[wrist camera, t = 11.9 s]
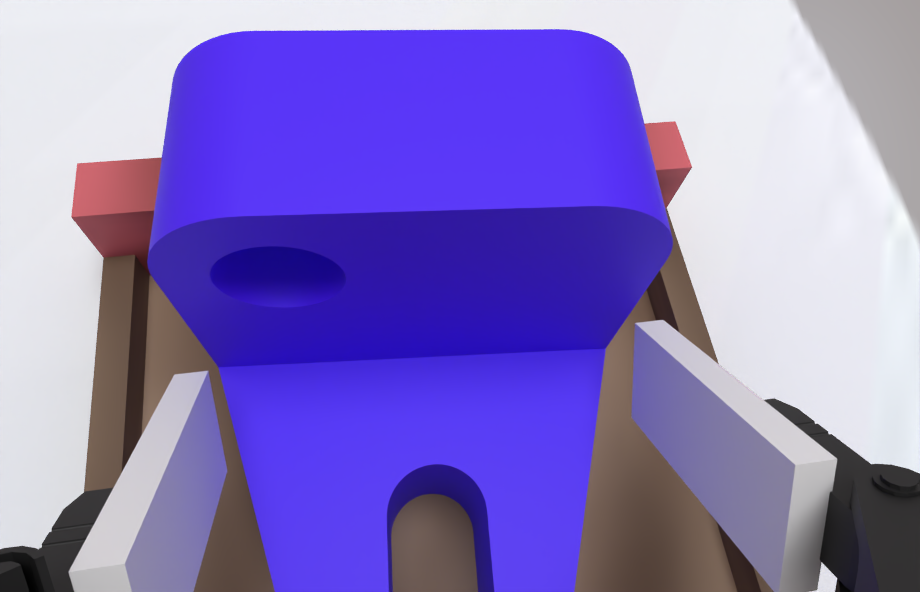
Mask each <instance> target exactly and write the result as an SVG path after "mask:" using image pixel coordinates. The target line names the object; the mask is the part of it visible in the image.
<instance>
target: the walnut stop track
mask: <svg viewBox="0 0 920 592" xmlns="http://www.w3.org/2000/svg"><path fill="white" fill-rule="evenodd" d="M644 125H645V129H646V133H647V137H648V141H649V145H650V149H651V153H652V157H653V161H654V165H655V169H656V173H657V177H658V182H659V186H660V190H661V194H662V198H663V202H664V206H665V210H666V214H667V218H668V222H669V226H670V230H671V234H672V238H673V247H672V251H671V253H670V255H669V257H668V259H667V260H666V262H665V263H664V265H663V266H662V268H661V269H660V271H659V272H658V274H657V275H656V276H655V278H654V279H653V281H652V282H651V284H650V285H649V287H648V288H647V289H646V291H645V292H644V294H643V295H642V297H641V298H640V300H639V301H638V303H637V304H636V305H635V307H634V308H633V310H632V311H631V313H630V314H629V316H628V317H627V319H626V320H625V321H624V323H623V324H622V326H621V327H620V329H619V330H618V332H617V333H616V334H615V336H614V337H613V339H612V340H611V342H610V343H609V345H608V346H607V348H606V351H605V359H604V367H603V375H602V382H601V390H600V398H599V405H598V413H597V421H596V428H595V436H594V444H593V451H592V459H591V467H590V474H589V482H588V490H587V498H586V505H585V513H584V521H583V528H582V536H581V544H580V551H579V559H578V567H577V574H576V582H575V590H574V592H774V591H773V590H772V589H771V587H770V586H769V585H768V584H767V583H766V581H765V580H764V579H763V578H762V576H761V575H760V574H759V573H758V572H757V570H756V569H755V568H754V567H753V565H752V564H751V563H750V562H749V561H748V559H747V558H746V557H745V556H744V554H743V553H742V552H741V551H740V550H739V548H738V547H737V546H736V545H735V543H734V542H733V541H732V540H731V539H730V537H729V536H728V535H727V534H726V532H725V531H724V530H723V529H722V528H721V526H720V525H719V524H718V523H717V521H716V520H715V519H714V518H713V517H712V515H711V514H710V513H709V512H708V510H707V509H706V508H705V507H704V506H703V504H702V503H701V502H700V501H699V499H698V498H697V497H696V496H695V495H694V493H693V492H692V491H691V490H690V488H689V487H688V486H687V485H686V484H685V482H684V481H683V480H682V479H681V477H680V476H679V475H678V474H677V473H676V471H675V470H674V469H673V468H672V466H671V465H670V464H669V463H668V462H667V460H666V459H665V458H664V457H663V455H662V454H661V453H660V452H659V451H658V449H657V448H656V447H655V446H654V444H653V443H652V442H651V441H650V440H649V438H648V437H647V436H646V435H645V433H644V432H643V431H642V430H641V429H640V427H639V426H638V425H637V424H636V422H635V421H634V420H633V419H632V418H631V416H632V390H633V363H634V336H635V323H639V322H648V321H657V320H664V321H665V322H666V323H668V324H669V325H670V326H671V327H673V328H674V329H675V330H676V331H678V332H679V333H680V334H681V335H683V336H684V337H685V338H686V339H688V340H689V341H690V342H691V343H693V344H694V345H695V346H696V347H698V348H699V349H700V350H701V351H703V352H704V353H705V354H707V355H708V356H709V357H710V358H712V359H713V360H714V361H715V362H717V363H718V361H717V358H716V355H715V352H714V349H713V346H712V343H711V340H710V337H709V334H708V331H707V328H706V325H705V322H704V319H703V316H702V313H701V310H700V307H699V304H698V301H697V298H696V295H695V292H694V289H693V286H692V283H691V280H690V277H689V274H688V271H687V268H686V265H685V262H684V259H683V256H682V253H681V250H680V247H679V244H678V241H677V238H676V235H675V232H674V229H673V226H672V223H671V220H670V217H669V214H668V211H667V206H668V205H669V203H670V201H671V200H672V198H673V197H674V195H675V193H676V192H677V190H678V189H679V187H680V185H681V184H682V182H683V181H684V179H685V178H686V176H687V174H688V173H689V171H690V170H691V168H692V166H691V163H690V160H689V158H688V155H687V152H686V149H685V147H684V144H683V141H682V138H681V136H680V133H679V130H678V127H677V125H676V122H662V123H648V124H644ZM161 160H162V158H150V159H135V160H121V161H107V162H93V163H79V164H77V171H76V180H75V189H74V198H73V208H72V218H73V220H74V221H75V222H76V223H77V225H78V226H79V227H80V228H81V230H82V231H83V232H84V233H85V235H86V236H87V237H88V239H89V240H90V241H91V242H92V244H93V245H94V246H95V247H96V249H97V250H98V251H99V252H100V254H101V255H102V256H103V257H104V260H103V272H102V284H101V296H100V308H99V319H98V331H97V343H96V355H95V367H94V379H93V391H92V403H91V415H90V427H89V439H88V451H87V463H86V475H85V487H84V492H85V491H92V490H99V489H107V488H114V486H115V484H116V482H117V481H118V479H119V477H120V475H121V473H122V471H123V469H124V467H125V466H126V464H127V462H128V460H129V458H130V456H131V454H132V453H133V451H134V449H135V447H136V445H137V443H138V441H139V440H140V438H141V436H142V434H143V432H144V430H145V428H146V426H147V425H148V423H149V421H150V419H151V417H152V415H153V413H154V412H155V410H156V408H157V406H158V404H159V402H160V400H161V399H162V397H163V395H164V393H165V391H166V389H167V387H168V385H169V384H170V382H171V380H172V378H173V376H174V375H175V374H184V373H192V372H201V371H208V372H209V378H210V383H211V388H212V393H213V399H214V404H215V409H216V414H217V419H218V425H219V430H220V435H221V440H222V446H223V451H224V456H225V461H226V467H227V474H226V477H225V481H224V484H223V488H222V491H221V495H220V499H219V502H218V506H217V509H216V513H215V516H214V520H213V524H212V527H211V531H210V534H209V538H208V541H207V545H206V549H205V552H204V556H203V559H202V563H201V566H200V570H199V574H198V577H197V581H196V584H195V588H194V591H193V592H275V590H274V586H273V582H272V578H271V574H270V570H269V566H268V562H267V558H266V554H265V550H264V546H263V542H262V538H261V534H260V530H259V527H258V523H257V519H256V515H255V511H254V507H253V503H252V499H251V495H250V491H249V487H248V483H247V479H246V475H245V471H244V467H243V463H242V459H241V455H240V451H239V447H238V443H237V439H236V435H235V431H234V427H233V423H232V419H231V415H230V411H229V407H228V403H227V400H226V396H225V392H224V388H223V384H222V380H221V376H220V372H219V368H218V366H217V365H216V363H215V362H214V361H213V359H212V358H211V357H210V355H209V354H208V352H207V351H206V350H205V348H204V347H203V346H202V344H201V343H200V342H199V340H198V339H197V337H196V336H195V335H194V333H193V332H192V331H191V329H190V328H189V327H188V325H187V324H186V322H185V321H184V320H183V318H182V317H181V316H180V314H179V313H178V312H177V310H176V309H175V307H174V306H173V305H172V303H171V302H170V301H169V299H168V298H167V297H166V295H165V294H164V292H163V291H162V290H161V288H160V287H159V286H158V284H157V283H156V282H155V280H154V279H153V277H152V276H151V274H150V272H149V269H148V264H147V260H148V252H149V245H150V238H151V231H152V224H153V217H154V210H155V203H156V196H157V189H158V182H159V175H160V168H161ZM391 548H392V580H393V592H478V583H477V571H476V558H475V546H474V534H473V527H472V523H471V520H470V518H469V516H468V514H467V513H466V511H465V510H464V508H463V507H462V506H461V505H460V504H459V503H457V502H456V501H455V500H453V499H451V498H449V497H447V496H444V495H440V494H425V495H421V496H418V497H416V498H414V499H412V500H411V501H409V502H408V503H407V504H406V505H404V507H403V508H402V509H401V510H400V511H399V513H398V515H397V516H396V518H395V520H394V523H393V527H392V533H391Z"/></svg>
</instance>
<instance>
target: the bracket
mask: <svg viewBox="0 0 920 592" xmlns="http://www.w3.org/2000/svg"><path fill="white" fill-rule="evenodd" d="M672 247H673V238H672V234H671V230H670V226H669V222H668V218H667V214H666V210H665V206H664V202H663V198H662V194H661V190H660V186H659V182H658V177H657V173H656V169H655V165H654V161H653V157H652V153H651V149H650V145H649V141H648V137H647V133H646V129H645V125H644V121H643V117H642V113H641V109H640V105H639V101H638V96H637V92H636V88H635V84H634V80H633V76H632V72H631V69H630V66H629V64H628V62H627V60H626V58H625V57H624V55H623V54H622V53H621V52H620V51H619V50H618V49H617V48H616V47H615V46H614V45H612V44H611V43H609V42H608V41H606V40H604V39H602V38H600V37H598V36H595V35H592V34H589V33H585V32H580V31H574V30H560V29H544V30H348V31H243V32H235V33H229V34H225V35H221V36H218V37H215V38H212V39H210V40H207V41H205V42H203V43H201V44H200V45H198V46H196V47H195V48H193V49H192V50H191V51H190V52H188V53H187V54H186V56H185V57H184V58H183V59H182V60H181V62H180V63H179V64H178V66H177V69H176V71H175V74H174V77H173V83H172V90H171V97H170V104H169V111H168V118H167V125H166V132H165V139H164V146H163V153H162V160H161V168H160V175H159V182H158V189H157V196H156V203H155V210H154V217H153V224H152V231H151V238H150V245H149V252H148V260H147V264H148V269H149V272H150V274H151V276H152V277H153V279H154V280H155V282H156V283H157V284H158V286H159V287H160V288H161V290H162V291H163V292H164V294H165V295H166V297H167V298H168V299H169V301H170V302H171V303H172V305H173V306H174V307H175V309H176V310H177V312H178V313H179V314H180V316H181V317H182V318H183V320H184V321H185V322H186V324H187V325H188V327H189V328H190V329H191V331H192V332H193V333H194V335H195V336H196V337H197V339H198V340H199V342H200V343H201V344H202V346H203V347H204V348H205V350H206V351H207V352H208V354H209V355H210V357H211V358H212V359H213V361H214V362H215V363H216V365H217V366H218V368H219V372H220V376H221V380H222V384H223V388H224V392H225V396H226V400H227V403H228V407H229V411H230V415H231V419H232V423H233V427H234V431H235V435H236V439H237V443H238V447H239V451H240V455H241V459H242V463H243V467H244V471H245V475H246V479H247V483H248V487H249V491H250V495H251V499H252V503H253V507H254V511H255V515H256V519H257V523H258V527H259V530H260V534H261V538H262V542H263V546H264V550H265V554H266V558H267V562H268V566H269V570H270V574H271V578H272V582H273V586H274V590H275V592H393V580H392V548H391V533H392V527H393V523H394V520H395V518H396V516H397V515H398V513H399V511H400V510H401V509H402V508H403V507H404V505H406V504H407V503H408V502H409V501H411V500H412V499H414V498H416V497H418V496H421V495H425V494H440V495H444V496H447V497H449V498H451V499H453V500H455V501H456V502H457V503H459V504H460V505H461V506H462V507H463V508H464V510H465V511H466V513H467V514H468V516H469V518H470V520H471V523H472V527H473V534H474V546H475V558H476V571H477V583H478V592H574V590H575V582H576V574H577V567H578V559H579V551H580V544H581V536H582V528H583V521H584V513H585V505H586V498H587V490H588V482H589V474H590V467H591V459H592V451H593V444H594V436H595V428H596V421H597V413H598V405H599V398H600V390H601V382H602V375H603V367H604V359H605V351H606V348H607V346H608V345H609V343H610V342H611V340H612V339H613V337H614V336H615V334H616V333H617V332H618V330H619V329H620V327H621V326H622V324H623V323H624V321H625V320H626V319H627V317H628V316H629V314H630V313H631V311H632V310H633V308H634V307H635V305H636V304H637V303H638V301H639V300H640V298H641V297H642V295H643V294H644V292H645V291H646V289H647V288H648V287H649V285H650V284H651V282H652V281H653V279H654V278H655V276H656V275H657V274H658V272H659V271H660V269H661V268H662V266H663V265H664V263H665V262H666V260H667V259H668V257H669V255H670V253H671V251H672Z"/></svg>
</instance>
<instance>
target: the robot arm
mask: <svg viewBox="0 0 920 592" xmlns="http://www.w3.org/2000/svg"><path fill="white" fill-rule="evenodd" d="M631 418H632V419H633V420H634V421H635V422H636V424H637V425H638V426H639V427H640V429H641V430H642V431H643V432H644V433H645V435H646V436H647V437H648V438H649V440H650V441H651V442H652V443H653V444H654V446H655V447H656V448H657V449H658V451H659V452H660V453H661V454H662V455H663V457H664V458H665V459H666V460H667V462H668V463H669V464H670V465H671V466H672V468H673V469H674V470H675V471H676V473H677V474H678V475H679V476H680V477H681V479H682V480H683V481H684V482H685V484H686V485H687V486H688V487H689V488H690V490H691V491H692V492H693V493H694V495H695V496H696V497H697V498H698V499H699V501H700V502H701V503H702V504H703V506H704V507H705V508H706V509H707V510H708V512H709V513H710V514H711V515H712V517H713V518H714V519H715V520H716V521H717V523H718V524H719V525H720V526H721V528H722V529H723V530H724V531H725V532H726V534H727V535H728V536H729V537H730V539H731V540H732V541H733V542H734V543H735V545H736V546H737V547H738V548H739V550H740V551H741V552H742V553H743V554H744V556H745V557H746V558H747V559H748V561H749V562H750V563H751V564H752V565H753V567H754V568H755V569H756V570H757V572H758V573H759V574H760V575H761V576H762V578H763V579H764V580H765V581H766V583H767V584H768V585H769V586H770V587H771V589H772V590H773V591H774V592H809V591H814V590H817V587H818V581H819V574H820V568H821V562H822V563H823V564H824V565H825V566H826V567H827V568H828V569H829V570H830V571H831V572H832V573H833V574H834V575H835V576H836V577H837V584H836V590H835V592H920V474H919V473H917V472H914V471H912V470H909V469H907V468H902V467H898V466H894V465H885V464H872V465H871V464H870V463H869V462H867V461H866V460H865V459H864V458H862V457H861V456H860V455H858V454H857V453H856V452H854V451H853V450H852V449H850V448H849V447H848V446H846V445H845V444H844V443H842V442H841V441H840V440H838V439H837V438H836V437H834V436H833V435H832V434H830V435H829V434H828V431H827V430H825V429H824V428H823V427H821V426H820V425H819V424H815V423H814V421H813V420H812V419H811V418H809V417H808V416H807V415H805V414H804V413H803V412H801V411H800V410H799V409H797V408H795V407H793V406H790V405H788V404H786V403H783V402H781V401H779V400H776V399H767V400H763V399H762V398H760V397H759V396H758V395H757V394H755V393H754V392H753V391H752V390H750V389H749V388H748V387H747V386H745V385H744V384H743V383H742V382H740V381H739V380H738V379H737V378H735V377H734V376H733V375H732V374H730V373H729V372H728V371H727V370H725V369H724V368H723V367H722V366H720V365H719V364H718V363H717V362H715V361H714V360H713V359H712V358H710V357H709V356H708V355H707V354H705V353H704V352H703V351H701V350H700V349H699V348H698V347H696V346H695V345H694V344H693V343H691V342H690V341H689V340H688V339H686V338H685V337H684V336H683V335H681V334H680V333H679V332H678V331H676V330H675V329H674V328H673V327H671V326H670V325H669V324H668V323H666V322H665V321H664V320H657V321H648V322H639V323H635V336H634V363H633V390H632V416H631ZM226 474H227V467H226V461H225V456H224V451H223V446H222V440H221V435H220V430H219V425H218V419H217V414H216V409H215V404H214V399H213V393H212V388H211V383H210V378H209V372H208V371H201V372H192V373H184V374H175V375H174V376H173V378H172V380H171V382H170V384H169V385H168V387H167V389H166V391H165V393H164V395H163V397H162V399H161V400H160V402H159V404H158V406H157V408H156V410H155V412H154V413H153V415H152V417H151V419H150V421H149V423H148V425H147V426H146V428H145V430H144V432H143V434H142V436H141V438H140V440H139V441H138V443H137V445H136V447H135V449H134V451H133V453H132V454H131V456H130V458H129V460H128V462H127V464H126V466H125V467H124V469H123V471H122V473H121V475H120V477H119V479H118V481H117V482H116V484H115V486H114V488H107V489H99V490H92V491H85V492H84V493H83V494H82V495H80V496H79V497H78V498H77V499H76V500H74V501H73V502H72V503H71V504H70V505H68V506H67V507H66V508H65V509H64V510H63V511H62V513H61V514H60V516H59V518H58V519H57V521H56V522H55V524H54V526H53V527H52V532H49V534H48V535H47V537H46V538H45V540H44V542H43V543H42V548H39V550H38V549H36V548H31V547H25V546H19V547H10V548H4V549H0V592H193V591H194V588H195V584H196V581H197V577H198V574H199V570H200V566H201V563H202V559H203V556H204V552H205V549H206V545H207V541H208V538H209V534H210V531H211V527H212V524H213V520H214V516H215V513H216V509H217V506H218V502H219V499H220V495H221V491H222V488H223V484H224V481H225V477H226Z"/></svg>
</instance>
